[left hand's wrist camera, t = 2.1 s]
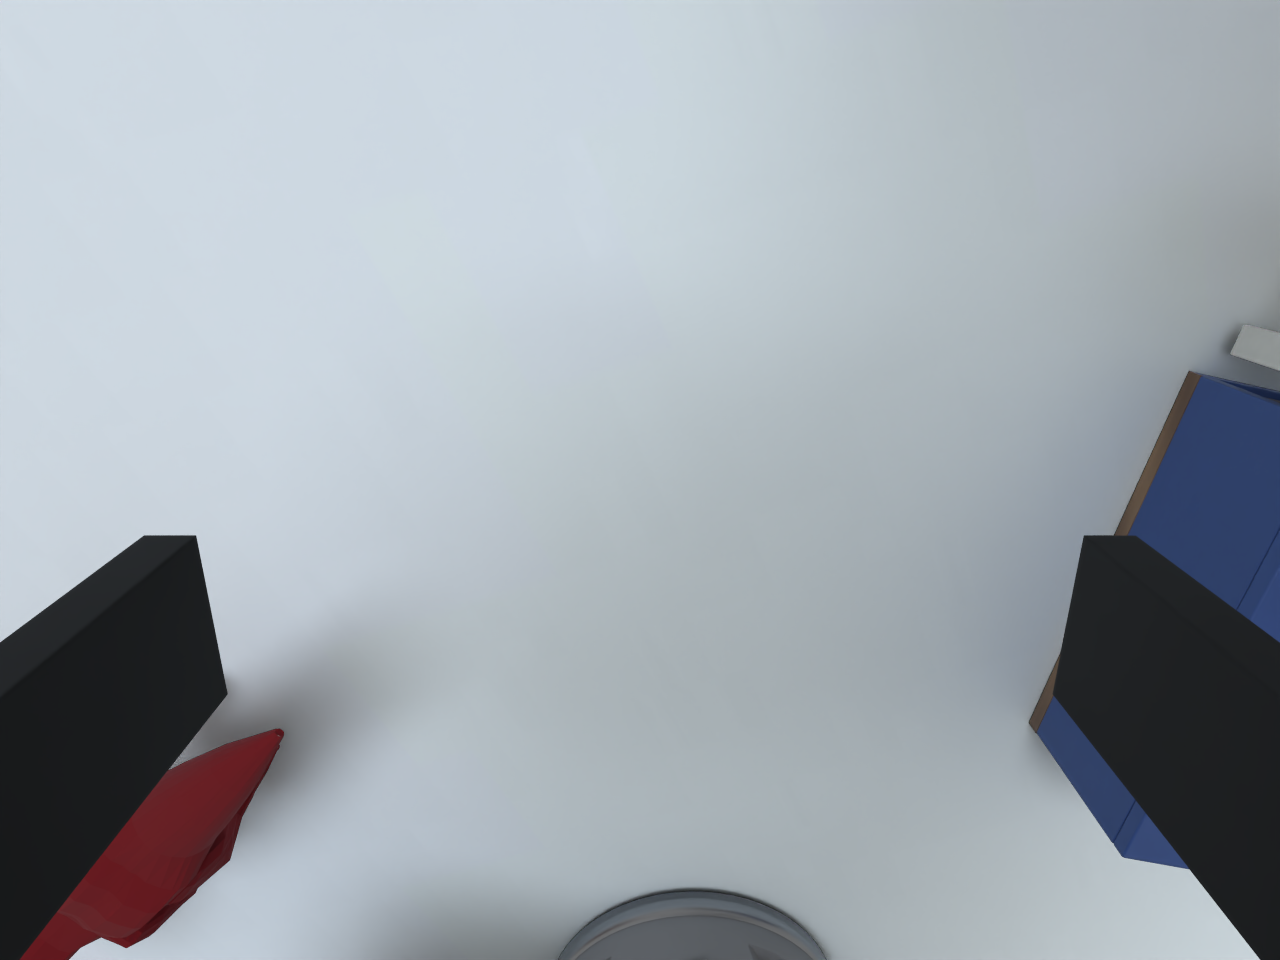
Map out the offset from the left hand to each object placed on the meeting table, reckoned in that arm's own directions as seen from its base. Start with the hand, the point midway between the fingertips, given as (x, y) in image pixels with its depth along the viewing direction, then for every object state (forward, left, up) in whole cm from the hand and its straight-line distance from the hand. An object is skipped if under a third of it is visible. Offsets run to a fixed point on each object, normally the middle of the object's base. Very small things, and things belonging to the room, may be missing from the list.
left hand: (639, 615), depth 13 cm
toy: (-16, +22, -22) cm, 35 cm away
